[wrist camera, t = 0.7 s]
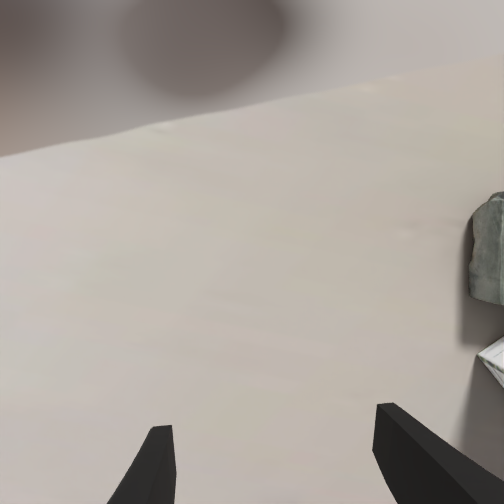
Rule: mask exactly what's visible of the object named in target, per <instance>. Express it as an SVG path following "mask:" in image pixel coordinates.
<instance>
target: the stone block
mask: <svg viewBox="0 0 504 504" xmlns="http://www.w3.org/2000/svg"><path fill="white" fill-rule="evenodd" d="M473 232H474V235H473V236H474V237H473V242H474V246H473V251H472V256H471V262H470V263H469V279H470V282H469V289H470V294H469V296H470V297H473V298H475V299H479V300H482V301H486V302H490V303H494V304H498V305H504V192H498V193H494V194H493V195H492V196H491V197H490V199H489V200H488V201H487V202H486V203H484V204H483V205H481V206H480V207H479V208H478V209H477V210H476V211H475V212H474V213H473Z"/></svg>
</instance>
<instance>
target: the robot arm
mask: <svg viewBox="0 0 504 504" xmlns="http://www.w3.org/2000/svg"><path fill="white" fill-rule="evenodd" d="M372 451H373V453H374V456H375V458H376V461H377V463H378V465H379V468H380V470H381V472H382V475H383V477H384V479H385V481H386V483H387V485H388V487H389V489H390V491H391V493H392V494H393V496H394V498H395V500H396V502H397V504H504V481H502V480H501V479H499V478H497V477H496V476H494V475H493V474H491V473H490V472H488V471H487V470H485V469H484V468H482V467H481V466H479V465H478V464H476V463H475V462H473V461H472V460H471V459H469V458H468V457H466V456H465V455H463V454H462V453H461V452H459V451H458V450H456V449H455V448H454V447H452V446H451V445H449V444H448V443H447V442H445V441H444V440H443V439H441V438H440V437H439V436H437V435H436V434H435V433H433V432H432V431H431V430H429V429H428V428H427V427H425V426H424V425H423V424H421V423H420V422H419V421H417V420H416V419H415V418H413V417H412V416H411V415H410V414H408V413H407V412H406V411H404V410H403V409H402V408H400V407H399V406H397V405H396V404H395V403H384V404H377V410H376V420H375V430H374V439H373V449H372ZM175 486H176V463H175V453H174V443H173V432H172V425H166V426H156V427H152V428H151V429H150V431H149V433H148V435H147V437H146V439H145V441H144V443H143V445H142V446H141V448H140V450H139V452H138V454H137V456H136V457H135V459H134V461H133V463H132V464H131V466H130V468H129V469H128V471H127V473H126V474H125V476H124V478H123V479H122V481H121V482H120V484H119V486H118V487H117V489H116V491H115V492H114V494H113V495H112V497H111V498H110V500H109V501H108V503H107V504H174V499H175Z"/></svg>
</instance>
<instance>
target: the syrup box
mask: <svg viewBox="0 0 504 504" xmlns="http://www.w3.org/2000/svg"><path fill="white" fill-rule="evenodd" d="M477 355H478V357H479V358H480V360H481V361H482V362H483V363H484V365H485V366H486V367H487V368H488V370H489V371H490V372H491V373H492V374H493V376H494V377H495V378H496V380H497V381H498V382H499V383H500V385H501V386H502V387H503V388H504V337H502V338H500V339H499V340H497V341H496V342H494V343H493V344H492V345H490V346H489V347H487V348H486V349H484V350H483V351H481V352H479V353H478V354H477Z"/></svg>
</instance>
